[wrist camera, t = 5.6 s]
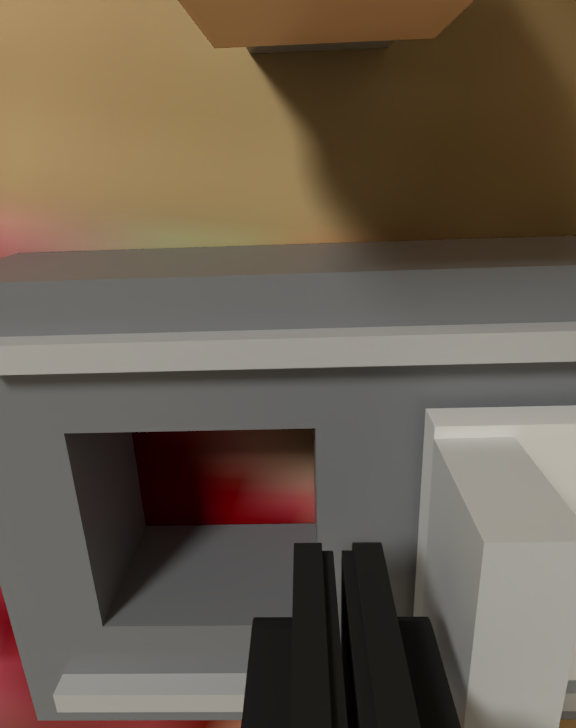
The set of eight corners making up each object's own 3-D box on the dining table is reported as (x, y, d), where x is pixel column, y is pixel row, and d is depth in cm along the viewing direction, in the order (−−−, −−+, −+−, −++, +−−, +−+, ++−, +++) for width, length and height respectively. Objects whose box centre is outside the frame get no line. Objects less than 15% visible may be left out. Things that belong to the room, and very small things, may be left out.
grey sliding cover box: (18, 252, 14) (-104, 291, 10) (636, 233, 14) (787, 265, 9) (91, 607, 18) (27, 742, 14) (567, 602, 18) (651, 742, 14)
